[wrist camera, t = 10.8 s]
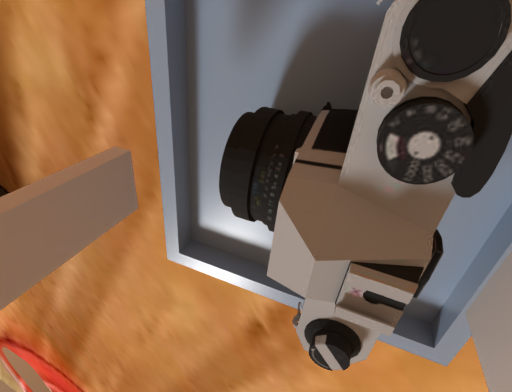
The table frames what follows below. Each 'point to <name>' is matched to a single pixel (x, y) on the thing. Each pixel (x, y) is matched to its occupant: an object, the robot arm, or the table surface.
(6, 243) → the robot arm
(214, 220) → the tray
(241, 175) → the camera
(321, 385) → the table surface
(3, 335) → the table surface
